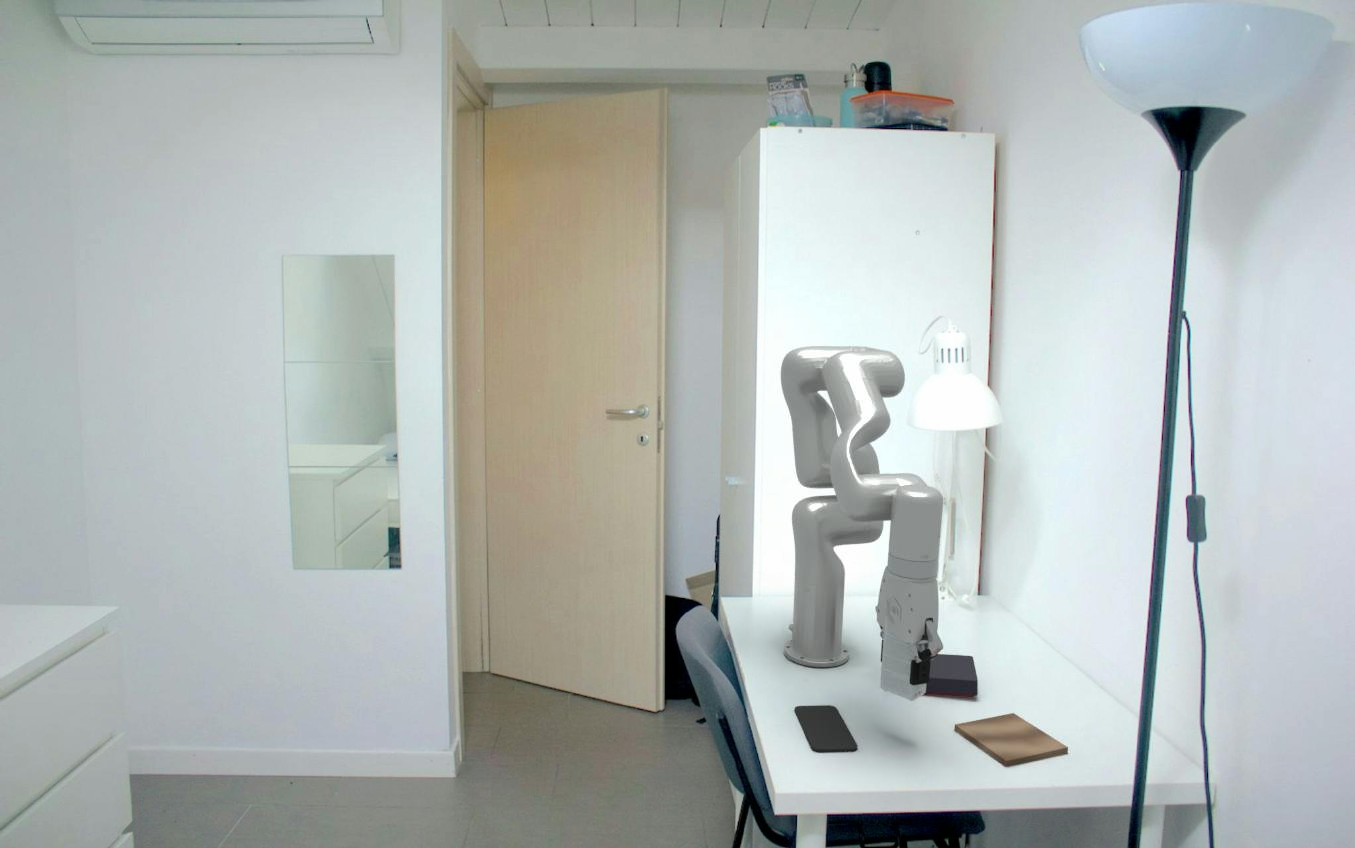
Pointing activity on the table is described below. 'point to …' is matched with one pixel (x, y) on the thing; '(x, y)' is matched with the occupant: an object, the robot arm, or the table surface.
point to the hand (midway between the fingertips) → (904, 671)
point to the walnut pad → (1010, 739)
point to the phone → (825, 729)
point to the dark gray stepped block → (952, 676)
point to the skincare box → (898, 667)
